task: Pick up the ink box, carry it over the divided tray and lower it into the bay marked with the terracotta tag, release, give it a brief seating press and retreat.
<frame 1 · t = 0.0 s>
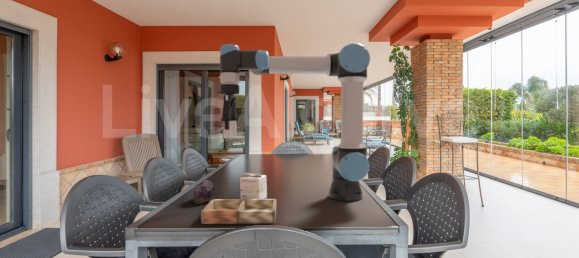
hand: (230, 137, 131), 28 cm above the table, fingers open, 13 cm apart
rock: (203, 201, 139), on the table
ink box: (254, 204, 134), on the table
divided tray: (241, 215, 118), on the table
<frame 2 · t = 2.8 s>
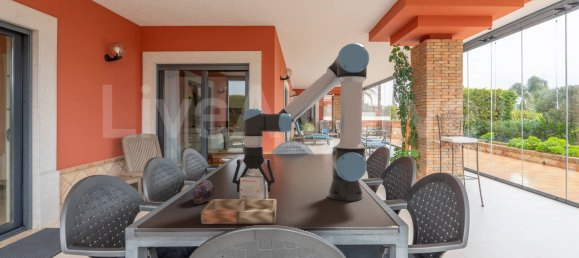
hand: (253, 199, 134), 2 cm above the table, fingers closed on ink box, 10 cm apart
ink box: (254, 204, 134), on the table, touching gripper
everything else where it was.
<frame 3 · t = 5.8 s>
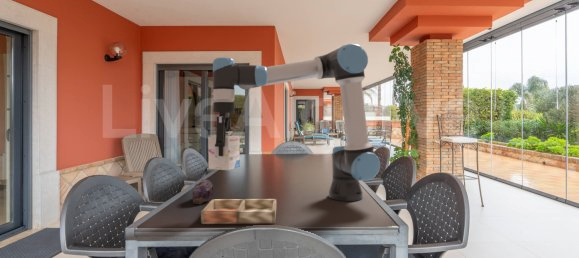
hand: (224, 163, 118), 19 cm above the table, fingers closed on ink box, 10 cm apart
ink box: (224, 168, 118), point 17 cm above the table, touching gripper
everything else where it was.
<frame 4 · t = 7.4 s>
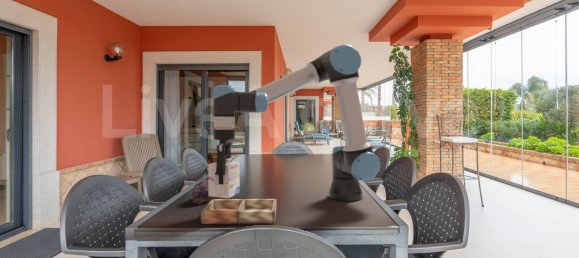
hand: (224, 189, 118), 10 cm above the table, fingers closed on ink box, 10 cm apart
ink box: (224, 195, 118), point 8 cm above the table, touching gripper
everything else where it was.
when the fingers open (5 cm above the table, at t = 8.8 s): ink box drops 2 cm, resting on divided tray.
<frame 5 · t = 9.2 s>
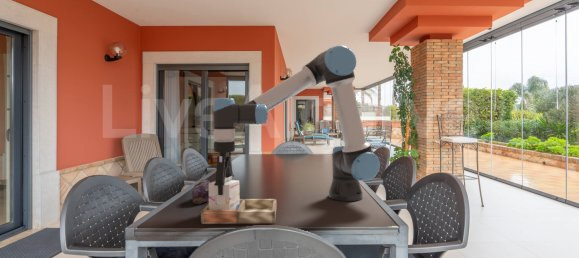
hand: (224, 199, 118), 6 cm above the table, fingers open, 13 cm apart
ink box: (224, 214, 118), point 1 cm above the table, touching divided tray
everything else where it was.
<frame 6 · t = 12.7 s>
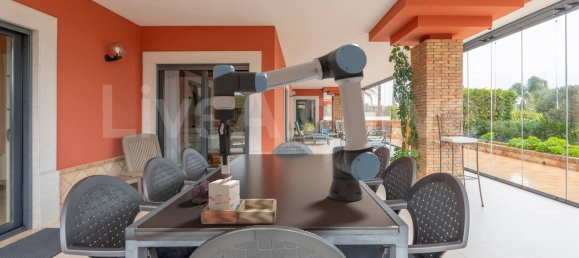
hand: (225, 173, 118), 15 cm above the table, fingers closed
nothing on the table moved.
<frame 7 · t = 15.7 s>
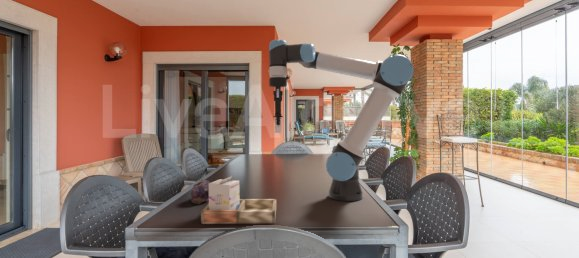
hand: (278, 132, 140), 29 cm above the table, fingers closed
nothing on the table moved.
at the end: ink box inside the target area on the divided tray (0.3 cm from its centre), point 0.8 cm above the divided tray's base; ink box tilted 0°; the gripper is holding nothing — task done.
